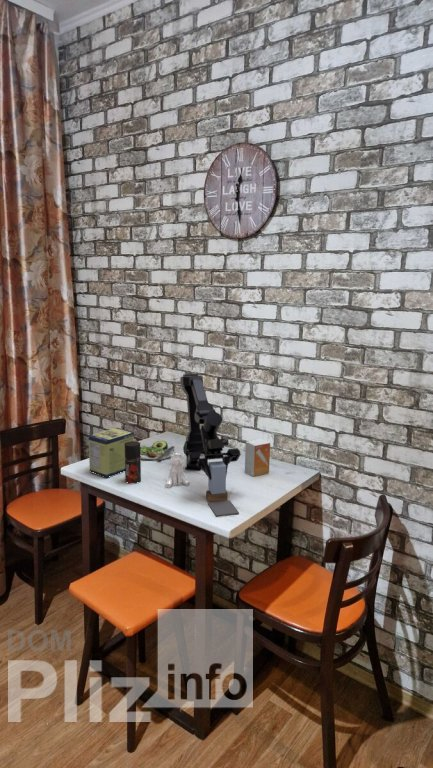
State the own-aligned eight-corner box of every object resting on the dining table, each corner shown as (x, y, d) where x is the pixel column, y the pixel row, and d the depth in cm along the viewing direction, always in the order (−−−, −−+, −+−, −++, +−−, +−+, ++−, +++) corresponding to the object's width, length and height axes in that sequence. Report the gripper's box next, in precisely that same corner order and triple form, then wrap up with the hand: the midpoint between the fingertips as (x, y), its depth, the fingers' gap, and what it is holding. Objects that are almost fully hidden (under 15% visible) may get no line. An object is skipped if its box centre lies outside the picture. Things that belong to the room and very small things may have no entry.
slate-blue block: (208, 488, 188) (208, 462, 186) (221, 487, 189) (222, 461, 187) (211, 494, 183) (212, 467, 181) (225, 492, 184) (226, 466, 182)
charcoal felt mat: (208, 504, 183) (208, 502, 182) (230, 502, 185) (230, 500, 185) (216, 516, 173) (216, 515, 173) (239, 514, 175) (239, 512, 175)
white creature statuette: (165, 488, 196) (165, 458, 193) (162, 480, 204) (162, 450, 201) (190, 487, 198) (190, 456, 195) (186, 478, 206) (186, 449, 204)
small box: (253, 477, 208) (254, 445, 206) (244, 472, 213) (245, 441, 211) (269, 473, 213) (270, 442, 210) (259, 468, 218) (260, 438, 215)
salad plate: (178, 462, 224) (178, 452, 223) (136, 464, 221) (135, 454, 220) (173, 448, 243) (173, 438, 242) (134, 449, 240) (134, 440, 239)
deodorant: (143, 479, 205) (143, 442, 202) (136, 484, 199) (135, 446, 196) (130, 476, 206) (129, 440, 203) (122, 482, 201) (121, 445, 198)
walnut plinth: (205, 498, 187) (205, 490, 187) (224, 496, 189) (224, 488, 189) (208, 503, 184) (208, 495, 183) (227, 500, 186) (227, 493, 185)
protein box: (135, 467, 217) (134, 431, 214) (106, 478, 204) (105, 440, 201) (117, 462, 223) (116, 427, 220) (88, 472, 210) (87, 435, 207)
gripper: (188, 430, 183) (196, 471, 174) (239, 426, 188) (249, 466, 180) (183, 444, 192) (190, 484, 183) (232, 441, 197) (241, 479, 189)
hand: (218, 478), depth 184 cm, fingers closed on slate-blue block, 5 cm apart
